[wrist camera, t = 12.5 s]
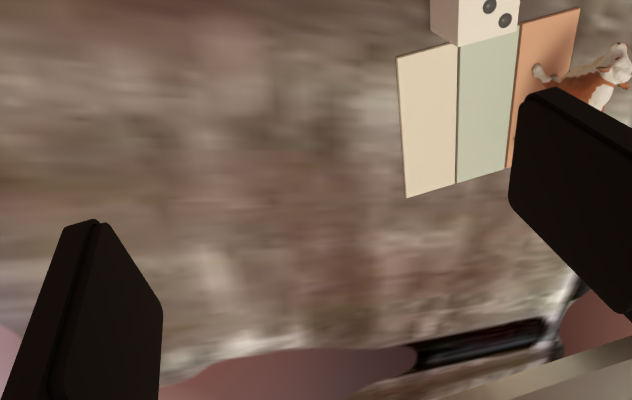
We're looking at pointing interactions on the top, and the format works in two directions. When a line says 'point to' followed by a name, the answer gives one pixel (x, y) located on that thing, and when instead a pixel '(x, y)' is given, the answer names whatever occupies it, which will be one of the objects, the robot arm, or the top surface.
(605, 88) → the bull figurine
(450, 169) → the game board
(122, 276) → the robot arm
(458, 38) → the die
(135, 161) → the top surface
